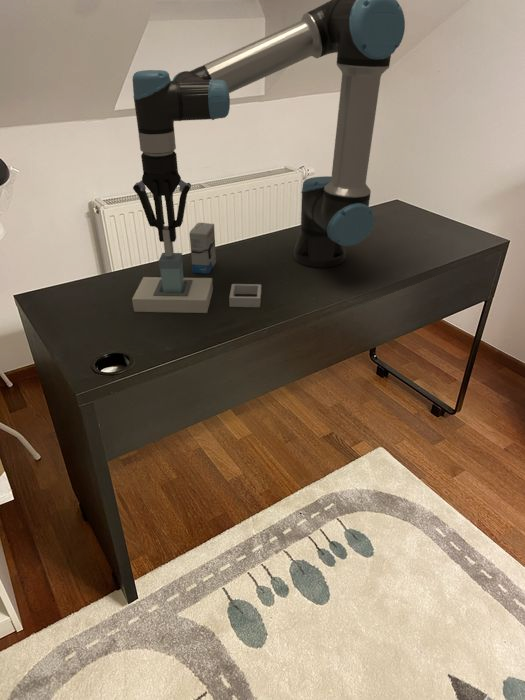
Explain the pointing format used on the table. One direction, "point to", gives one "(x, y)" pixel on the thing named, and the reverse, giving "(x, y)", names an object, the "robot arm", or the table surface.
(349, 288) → the table surface
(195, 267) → the ink box
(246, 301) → the grey square frame
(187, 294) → the port
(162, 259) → the plug
